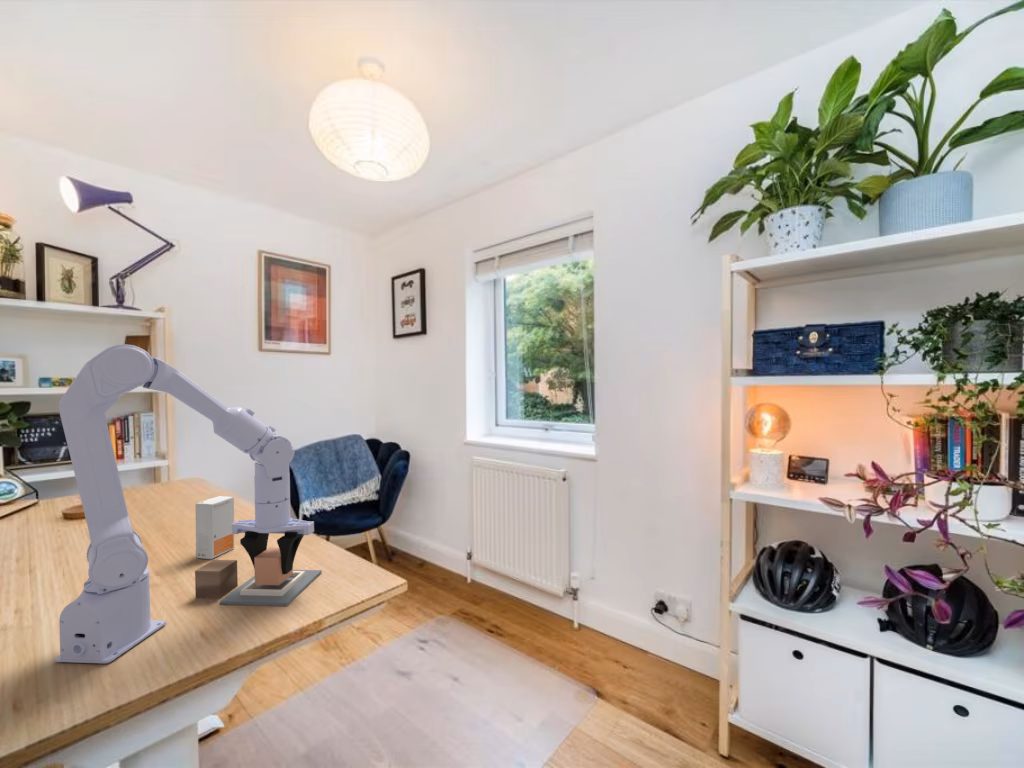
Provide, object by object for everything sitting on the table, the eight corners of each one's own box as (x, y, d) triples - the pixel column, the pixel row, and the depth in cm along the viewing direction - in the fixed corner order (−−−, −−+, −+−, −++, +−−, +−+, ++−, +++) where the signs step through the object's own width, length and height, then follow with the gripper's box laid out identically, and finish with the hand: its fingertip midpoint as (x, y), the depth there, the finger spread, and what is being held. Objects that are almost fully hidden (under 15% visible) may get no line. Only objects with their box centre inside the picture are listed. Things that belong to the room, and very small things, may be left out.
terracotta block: (279, 585, 77) (278, 558, 77) (254, 584, 77) (254, 557, 77) (292, 573, 81) (292, 547, 81) (270, 573, 82) (269, 547, 81)
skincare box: (212, 560, 91) (210, 504, 90) (195, 558, 92) (194, 503, 91) (235, 548, 97) (234, 496, 96) (220, 547, 98) (218, 495, 97)
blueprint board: (287, 605, 73) (287, 598, 73) (219, 604, 73) (219, 596, 73) (321, 572, 85) (321, 566, 85) (263, 571, 85) (263, 565, 85)
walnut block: (220, 599, 75) (219, 571, 75) (195, 598, 75) (194, 570, 75) (237, 586, 80) (237, 560, 80) (214, 585, 80) (214, 559, 80)
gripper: (321, 493, 82) (322, 562, 83) (249, 492, 83) (250, 561, 83) (301, 504, 75) (303, 580, 76) (222, 503, 76) (224, 578, 76)
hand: (274, 571), depth 79 cm, fingers closed on terracotta block, 4 cm apart
